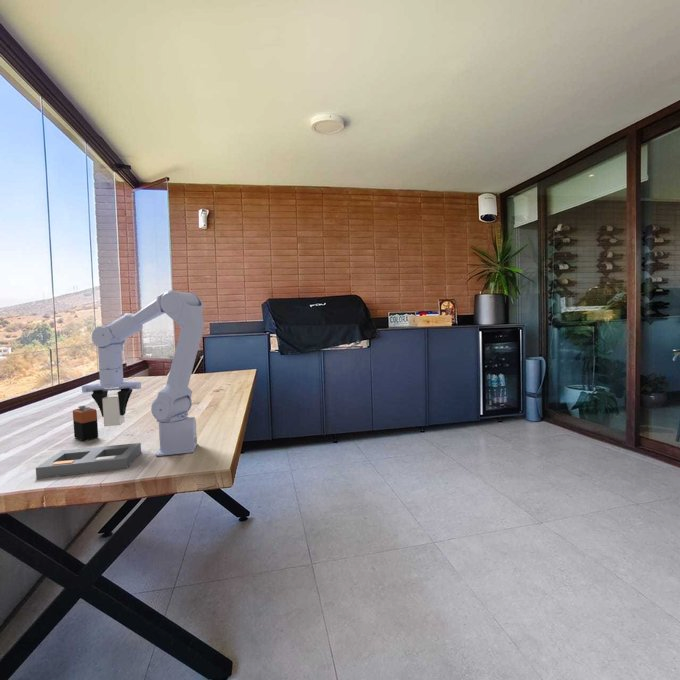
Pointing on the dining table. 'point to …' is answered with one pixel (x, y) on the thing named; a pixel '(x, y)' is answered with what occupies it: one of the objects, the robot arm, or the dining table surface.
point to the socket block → (89, 460)
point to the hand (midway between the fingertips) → (113, 415)
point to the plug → (112, 411)
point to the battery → (85, 423)
